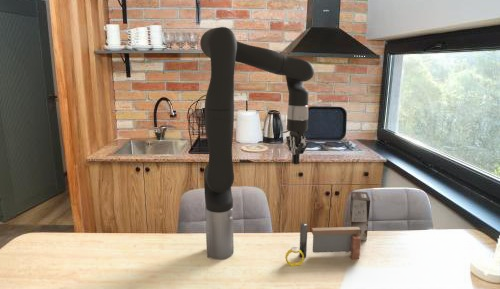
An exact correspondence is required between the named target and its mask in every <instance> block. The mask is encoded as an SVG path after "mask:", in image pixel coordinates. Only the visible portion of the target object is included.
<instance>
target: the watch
mask: <svg viewBox="0 0 500 289" xmlns="http://www.w3.org/2000/svg"><path fill="white" fill-rule="evenodd" d="M299 249H300V247H298V246H292V247H290V249H289V250H288V251H286V253H285V262H286V263H287V265H289V267H291V266H293V267H294V266H295V267H300V266H301V265H302V264H303V262H304V260H305V258H304V255H303V253H302V251H301V250H299ZM292 253H294V254H299V253H301V254H302V258H301V259H300V261H299V262H290V261H289V260H288V256H289V254H292Z"/></svg>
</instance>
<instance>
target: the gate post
mask: <svg viewBox="0 0 500 289" xmlns="http://www.w3.org/2000/svg"><path fill="white" fill-rule="evenodd" d="M307 243H308V223H307V222H301V223H300V227H299V250H301V251H302V253H303V255H304V259H305V258H307V248H308V244H307ZM298 254H299V255H298V257H299V258H301V259H302V254H301V253H299V252H298Z"/></svg>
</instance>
